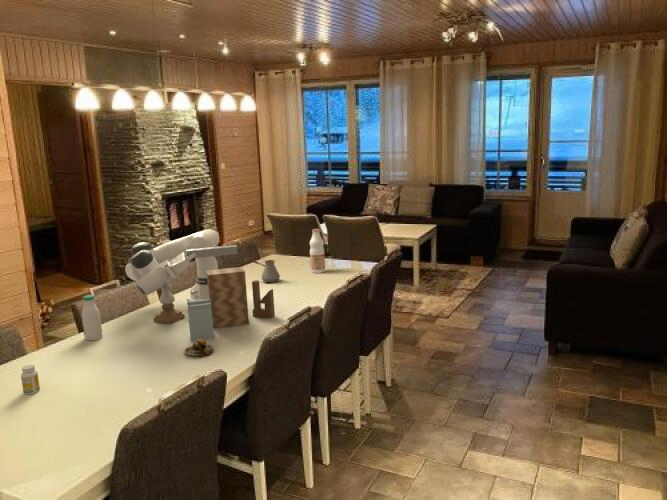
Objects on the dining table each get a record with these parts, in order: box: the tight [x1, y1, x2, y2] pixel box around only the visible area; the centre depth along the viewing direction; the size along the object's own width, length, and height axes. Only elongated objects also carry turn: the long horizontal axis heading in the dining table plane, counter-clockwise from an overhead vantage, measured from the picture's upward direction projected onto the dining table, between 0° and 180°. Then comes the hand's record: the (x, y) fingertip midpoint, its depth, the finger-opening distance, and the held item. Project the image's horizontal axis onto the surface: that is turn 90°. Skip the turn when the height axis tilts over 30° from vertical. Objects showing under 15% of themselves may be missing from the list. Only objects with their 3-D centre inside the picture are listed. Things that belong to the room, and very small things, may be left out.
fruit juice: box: [309, 228, 326, 274], centre depth 366 cm, size 9×9×28 cm
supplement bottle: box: [20, 364, 41, 396], centre depth 205 cm, size 5×5×10 cm
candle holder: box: [152, 282, 186, 325], centre depth 280 cm, size 11×11×24 cm
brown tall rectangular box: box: [207, 266, 250, 330], centre depth 270 cm, size 17×10×26 cm, turn 106°
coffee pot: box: [244, 257, 281, 283], centre depth 349 cm, size 21×12×15 cm, turn 81°
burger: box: [184, 335, 215, 358], centre depth 236 cm, size 12×12×8 cm
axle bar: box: [186, 244, 238, 259], centre depth 264 cm, size 23×4×4 cm, turn 106°
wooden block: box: [251, 279, 276, 319], centre depth 279 cm, size 4×11×18 cm, turn 67°
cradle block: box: [186, 299, 215, 342], centre depth 254 cm, size 10×8×16 cm
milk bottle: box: [81, 294, 103, 341], centre depth 258 cm, size 8×8×20 cm
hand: (195, 252), depth 262 cm, fingers closed on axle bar, 4 cm apart
